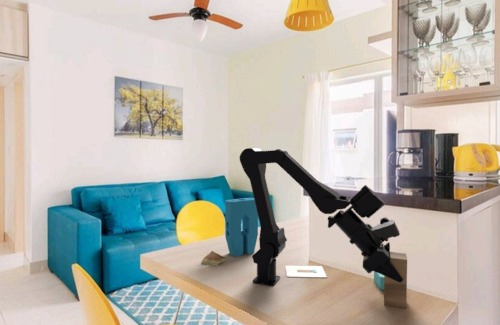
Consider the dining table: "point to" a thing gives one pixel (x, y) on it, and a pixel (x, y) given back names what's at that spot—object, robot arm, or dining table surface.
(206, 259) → the shard
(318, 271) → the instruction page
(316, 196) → the robot arm
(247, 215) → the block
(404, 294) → the walnut brick
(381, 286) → the teal base block
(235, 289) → the dining table surface
